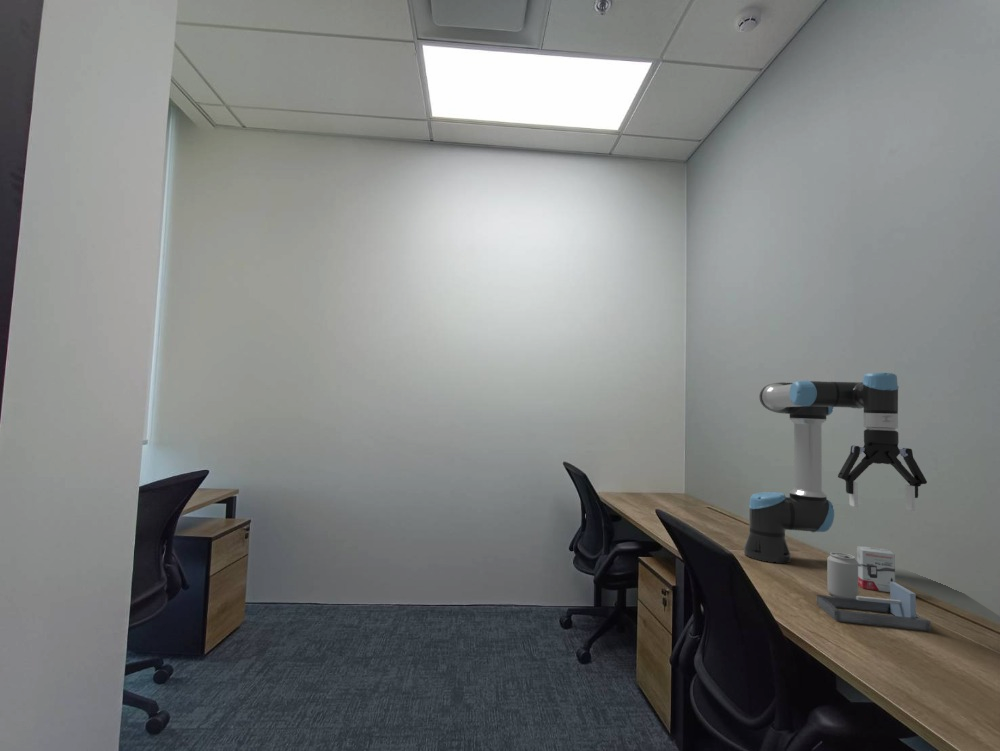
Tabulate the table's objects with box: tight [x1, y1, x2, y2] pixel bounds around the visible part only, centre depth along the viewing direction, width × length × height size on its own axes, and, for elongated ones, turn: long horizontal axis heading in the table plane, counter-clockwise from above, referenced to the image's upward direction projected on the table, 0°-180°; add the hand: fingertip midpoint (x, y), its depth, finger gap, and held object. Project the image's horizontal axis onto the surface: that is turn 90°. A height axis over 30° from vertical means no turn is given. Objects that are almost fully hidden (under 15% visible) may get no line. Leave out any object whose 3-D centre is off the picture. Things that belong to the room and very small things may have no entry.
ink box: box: [856, 545, 896, 593], centre depth 154 cm, size 9×5×12 cm, turn 69°
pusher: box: [856, 581, 917, 618], centre depth 130 cm, size 9×11×8 cm
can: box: [826, 551, 859, 599], centre depth 145 cm, size 8×8×12 cm
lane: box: [816, 594, 932, 632], centre depth 130 cm, size 12×21×2 cm, turn 79°
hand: (881, 508), depth 134 cm, fingers open, 13 cm apart
